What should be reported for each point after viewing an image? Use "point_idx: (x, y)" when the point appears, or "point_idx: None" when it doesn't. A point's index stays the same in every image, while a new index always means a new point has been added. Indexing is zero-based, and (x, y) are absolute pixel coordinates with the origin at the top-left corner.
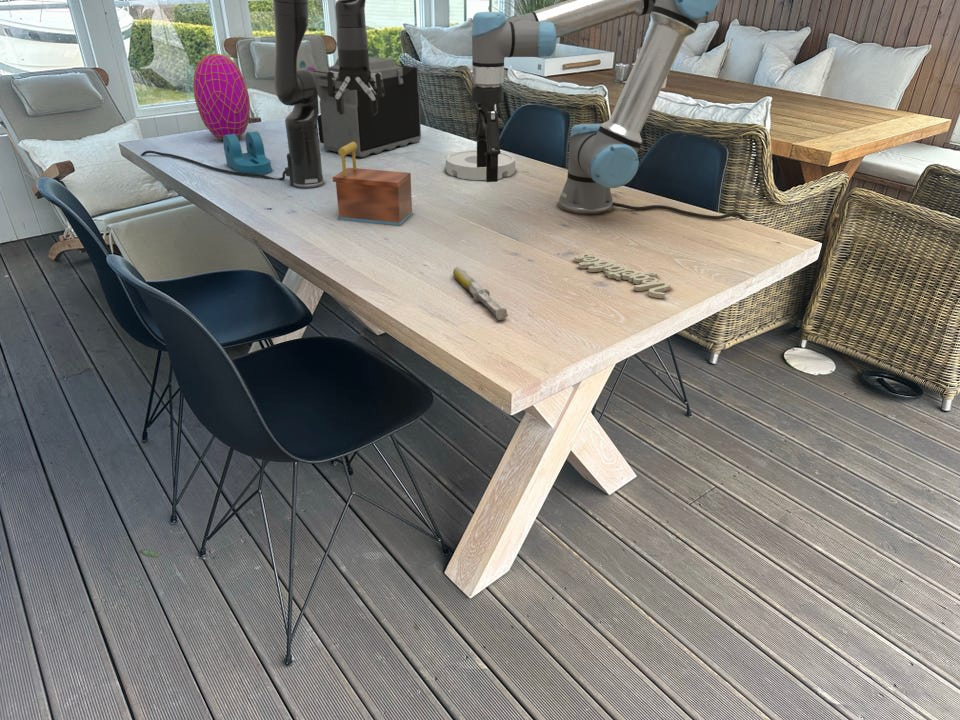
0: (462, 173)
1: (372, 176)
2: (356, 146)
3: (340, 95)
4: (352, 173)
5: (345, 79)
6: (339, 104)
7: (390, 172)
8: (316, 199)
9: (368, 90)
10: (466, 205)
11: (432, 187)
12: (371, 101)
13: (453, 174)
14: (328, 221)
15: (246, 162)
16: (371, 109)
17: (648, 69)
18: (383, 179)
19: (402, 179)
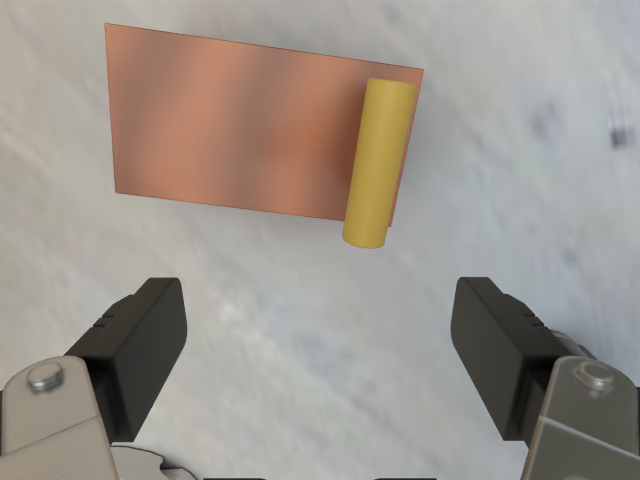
0: (141, 463)
1: (250, 108)
2: (344, 226)
3: (556, 394)
4: (349, 141)
5: None
6: (520, 323)
7: (196, 182)
8: (490, 247)
9: (10, 456)
10: (55, 261)
11: (200, 384)
12: (102, 351)
13: (176, 471)
14: (410, 48)
15: None
16: (153, 302)
17: None
18: (186, 66)
19: (109, 91)
